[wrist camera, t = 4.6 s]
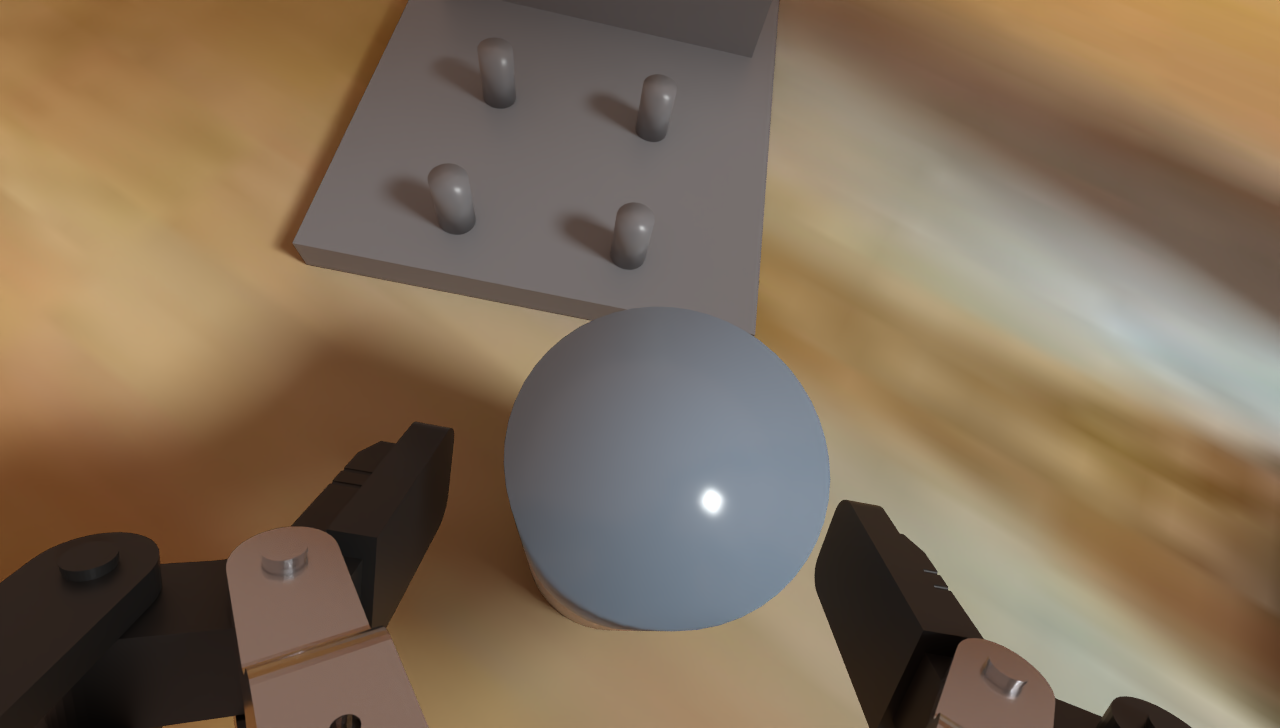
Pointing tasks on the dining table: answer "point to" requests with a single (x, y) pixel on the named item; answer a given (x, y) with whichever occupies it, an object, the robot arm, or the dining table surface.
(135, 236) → the dining table surface
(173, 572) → the robot arm
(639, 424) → the grey dome-topped cylinder
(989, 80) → the dining table surface
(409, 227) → the dish rack
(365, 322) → the dining table surface
